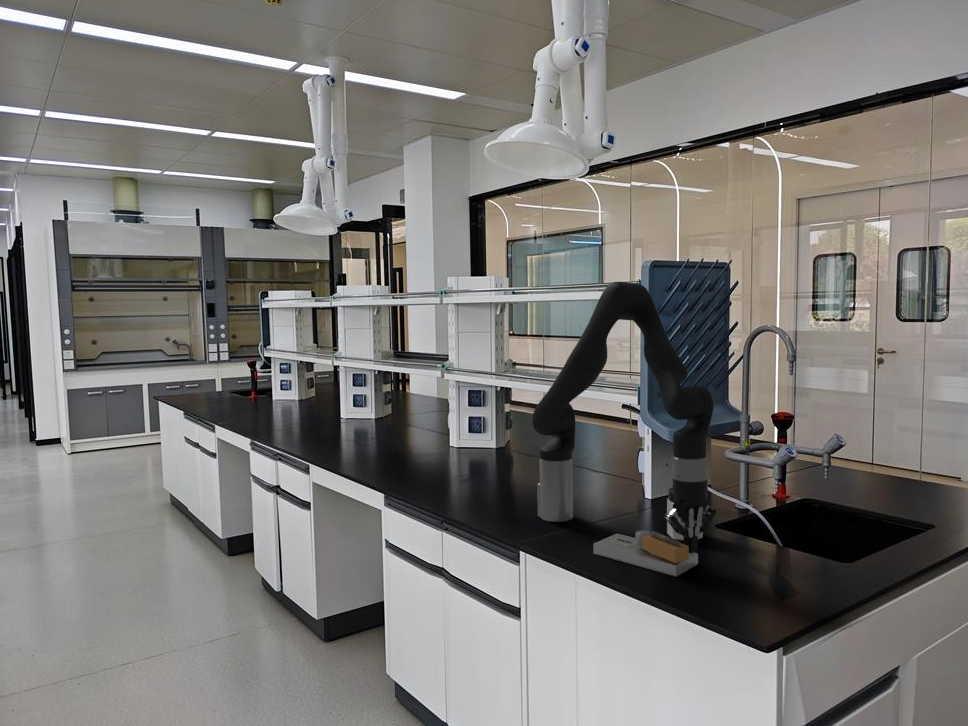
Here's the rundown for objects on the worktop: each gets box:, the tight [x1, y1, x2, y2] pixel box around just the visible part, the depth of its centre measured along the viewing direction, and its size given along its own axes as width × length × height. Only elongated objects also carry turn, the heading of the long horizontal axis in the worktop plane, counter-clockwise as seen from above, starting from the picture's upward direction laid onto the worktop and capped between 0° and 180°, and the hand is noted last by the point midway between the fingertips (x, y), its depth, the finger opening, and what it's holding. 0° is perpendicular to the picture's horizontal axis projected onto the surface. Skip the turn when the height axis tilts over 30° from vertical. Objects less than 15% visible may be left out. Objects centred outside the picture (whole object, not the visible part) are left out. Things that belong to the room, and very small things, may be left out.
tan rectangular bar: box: [635, 529, 689, 563], centre depth 157 cm, size 14×4×4 cm, turn 29°
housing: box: [593, 533, 699, 578], centre depth 162 cm, size 22×10×3 cm, turn 45°
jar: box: [666, 486, 704, 541], centre depth 177 cm, size 9×8×12 cm
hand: (690, 551), depth 154 cm, fingers closed
